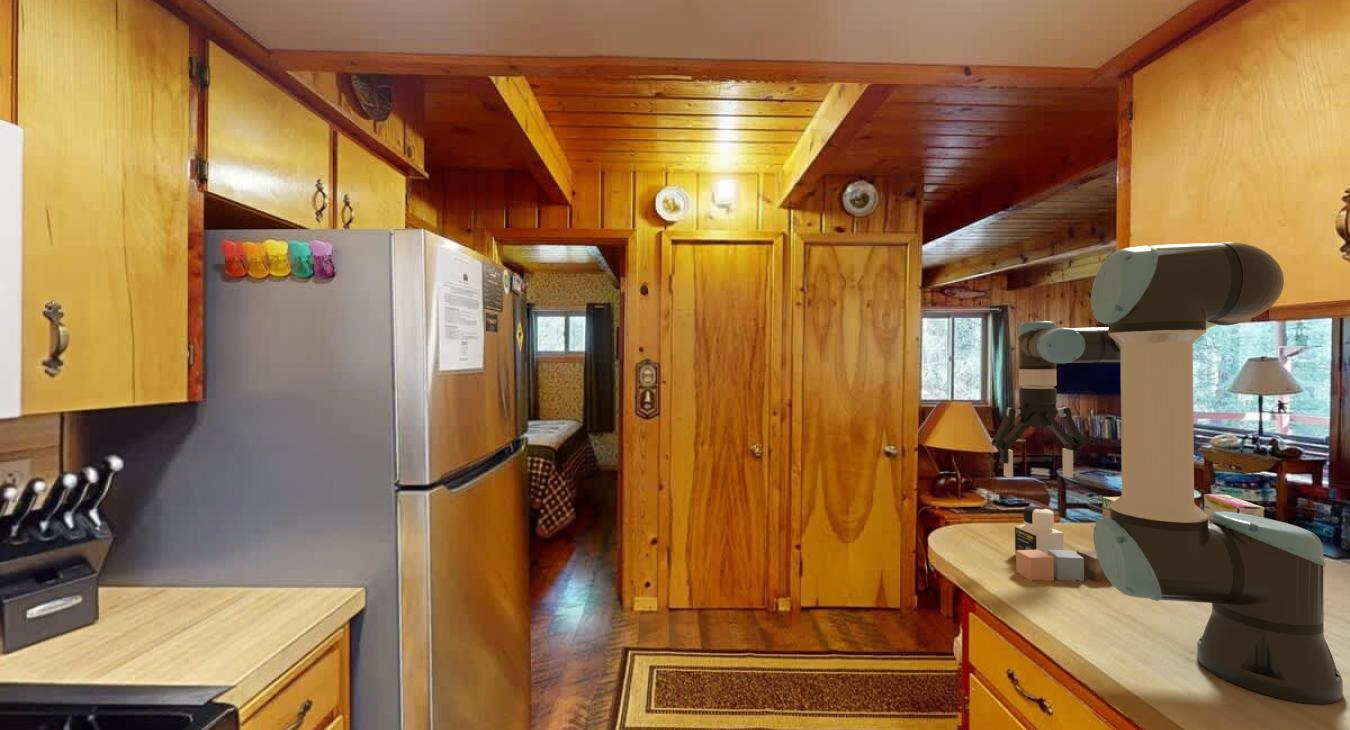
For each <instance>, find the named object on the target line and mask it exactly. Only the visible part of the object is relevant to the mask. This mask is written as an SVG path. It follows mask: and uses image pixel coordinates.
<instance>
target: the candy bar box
mask: <svg viewBox="0 0 1350 730" xmlns="http://www.w3.org/2000/svg"><path fill="white" fill-rule="evenodd" d="M1219 511H1225V512H1234V513H1241V514H1247V515H1252V516H1257V517H1262V518H1266V516H1265V514H1266V513H1265V512H1266V508H1265V507H1264V506H1261V505H1258V504H1255V503H1253V502H1249V501H1246V500H1243V499H1241V498H1238V497H1235V496H1232V495H1229V494H1217V493H1214V494H1212V493H1207V494H1206V493H1205V494H1203V512H1204V513H1205V514H1207V516H1208V523H1212V521H1211V520H1210V517H1211V516H1212V513H1213V512H1219Z"/></svg>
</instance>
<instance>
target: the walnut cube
mask: <svg viewBox="0 0 1350 730" xmlns="http://www.w3.org/2000/svg"><path fill="white" fill-rule="evenodd" d="M1076 553H1077V554H1078V555H1080V556H1081V557H1083V558H1084V577H1085V576H1086V577H1085V578H1087V577H1088V578H1087V579H1089V578H1090V579H1089V580H1091V579H1092V580H1091V581H1093V580H1095V581H1094V582H1096V581H1098V582H1106V581H1105V580H1108V578H1107V577H1106V575H1105V573H1104V571H1103V569H1102V568H1101V565H1100V563H1099V560H1098V558H1097V554H1096V551H1095V549H1087V550H1086V549H1083V550H1076ZM1103 580H1104V581H1103Z"/></svg>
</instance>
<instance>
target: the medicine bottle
mask: <svg viewBox="0 0 1350 730" xmlns="http://www.w3.org/2000/svg"><path fill="white" fill-rule="evenodd" d="M1054 515H1055V514H1054V511H1052V509H1049V508H1046V507H1043V506H1036V505H1035V506H1034V505H1033V506H1027V507H1025V508H1023V524H1019V525H1018V524H1017V525H1014V554H1015V555H1016V550H1040V551H1042V552H1044V553H1046V554H1048V550H1065V548H1064V543H1065V542H1064V540H1065V539H1064V532H1063V531H1060V530H1057V529H1055V517H1054Z"/></svg>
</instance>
